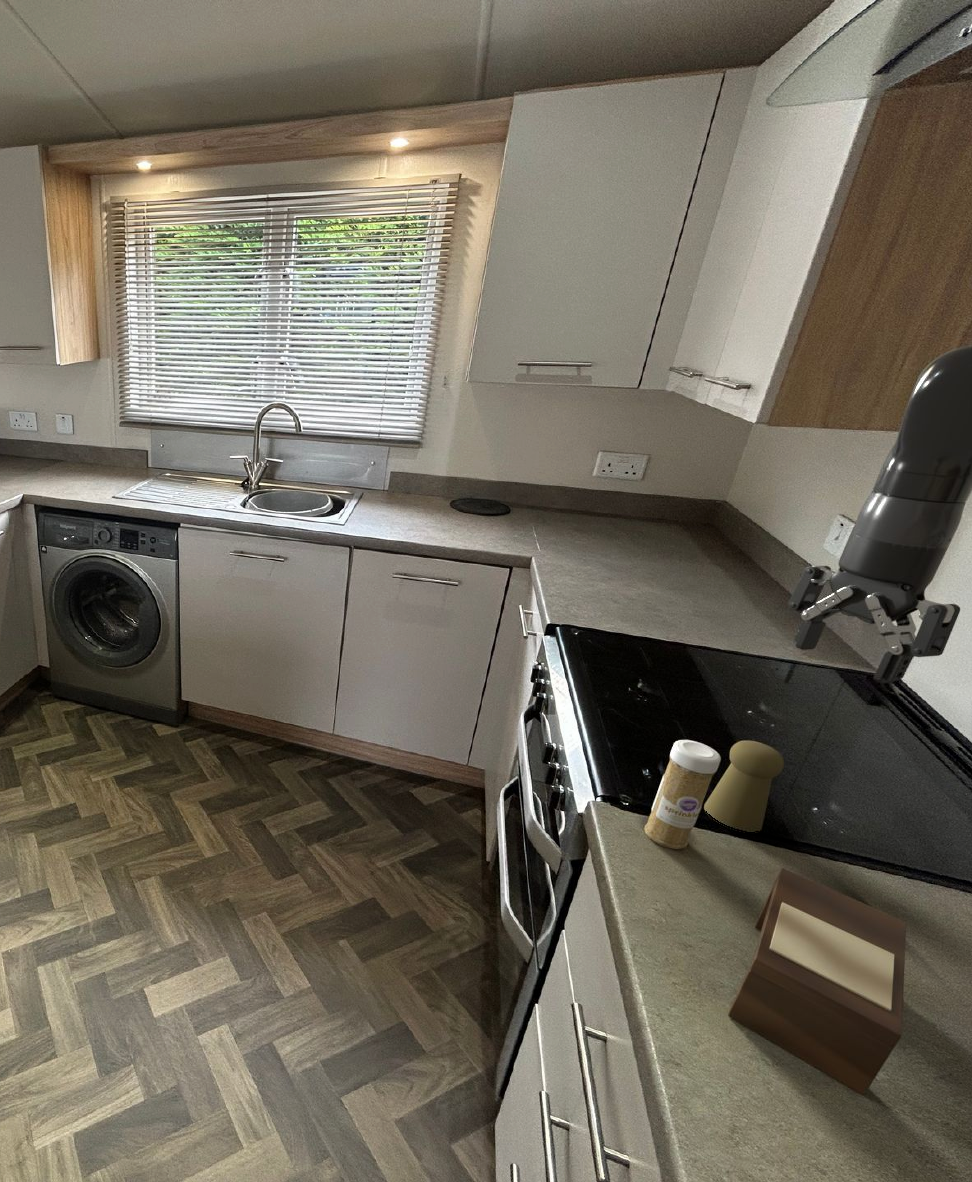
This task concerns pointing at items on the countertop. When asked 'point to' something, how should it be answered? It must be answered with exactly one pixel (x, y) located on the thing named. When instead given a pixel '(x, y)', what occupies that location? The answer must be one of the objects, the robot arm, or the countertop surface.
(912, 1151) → the countertop surface
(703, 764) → the sprinkles bottle
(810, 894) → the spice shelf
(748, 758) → the cork
